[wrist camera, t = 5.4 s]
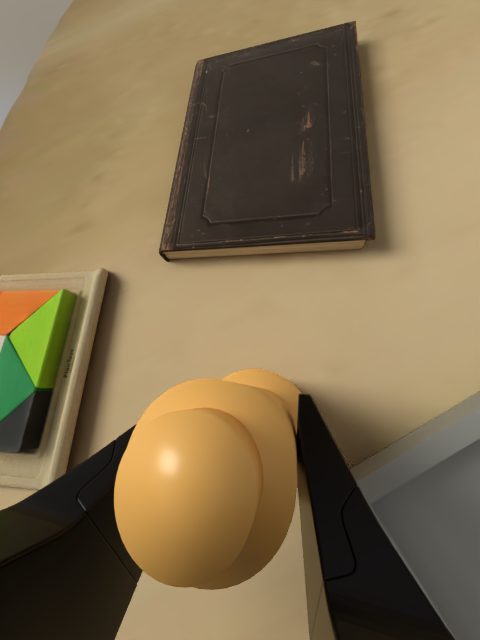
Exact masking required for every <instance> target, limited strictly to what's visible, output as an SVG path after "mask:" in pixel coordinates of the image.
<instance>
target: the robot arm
mask: <svg viewBox="0 0 480 640" xmlns="http://www.w3.org/2000/svg"><path fill="white" fill-rule="evenodd" d="M136 425H137V424H136ZM136 425H134V426H133V427H132V428H130V429H129V430H127V431H126V432H125V433H123V434H122V435H121V436H119V437H118V438H117V439H116V440H114V441H112V442H111V443H110V444H108V445H107V446H106V447H104V448H103V449H101V450H100V451H98V452H97V453H96V454H94V455H93V456H91V457H90V458H88V459H87V460H85V461H84V462H82V463H81V464H79V465H78V466H76V467H75V468H73V469H72V470H70V471H69V472H67V473H65V474H64V475H62V476H61V477H59V478H58V479H56V480H54V481H53V482H51V483H50V484H48V485H47V486H45V487H43V488H42V489H40V490H39V491H37V492H36V493H34V494H32V495H31V496H29V497H28V498H26V499H24V500H22V501H21V502H19V503H17V504H15V505H13V506H10V507H8V508H6V509H3V510H0V640H115V637H116V635H117V632H118V630H119V627H120V625H121V623H122V620H123V618H124V615H125V613H126V610H127V608H128V605H129V603H130V601H131V598H132V596H133V593H134V591H135V588H136V586H137V582H138V581H139V578H140V576H141V573H142V571H143V570H142V569H141V568H140V567H139V566H138V565H137V564H136V563H135V561H134V560H133V559H132V557H131V556H130V554H129V553H128V551H127V549H126V547H125V545H124V543H123V541H122V539H121V536H120V533H119V530H118V526H117V522H116V517H115V510H114V488H115V481H116V475H117V471H118V468H119V464H120V462H121V459H122V457H123V454H124V452H125V450H126V448H127V446H128V443H129V440H130V438H131V435H132V433H133V431H134V429H135V427H136ZM297 480H298V493H299V506H300V519H301V532H302V545H303V558H304V571H305V584H306V597H307V610H308V623H309V636H310V640H456V639H455V638H454V637H453V635H452V634H451V633H450V631H449V630H448V628H447V627H446V626H445V624H444V623H443V621H442V620H441V618H440V617H439V615H438V614H437V612H436V611H435V609H434V608H433V606H432V604H431V603H430V601H429V600H428V598H427V597H426V595H425V594H424V592H423V591H422V589H421V588H420V586H419V584H418V583H417V581H416V580H415V578H414V577H413V575H412V574H411V572H410V571H409V569H408V568H407V566H406V565H405V563H404V561H403V560H402V558H401V557H400V555H399V554H398V552H397V551H396V549H395V548H394V546H393V544H392V543H391V541H390V540H389V538H388V536H387V535H386V533H385V532H384V530H383V528H382V527H381V525H380V524H379V522H378V520H377V518H376V517H375V515H374V513H373V511H372V510H371V508H370V506H369V504H368V502H367V501H366V499H365V497H364V495H363V493H362V491H361V489H360V487H359V486H357V482H356V480H355V478H354V476H353V474H352V473H351V471H350V469H349V467H348V465H347V463H346V461H345V459H344V457H343V455H342V454H341V452H340V450H339V448H338V446H337V444H336V442H335V440H334V438H333V437H332V435H331V433H330V431H329V429H328V427H327V425H326V423H325V421H324V420H323V418H322V416H321V414H320V412H319V410H318V408H317V406H316V404H315V402H314V401H313V399H312V397H311V395H309V394H302V393H300V394H299V395H298V415H297Z"/></svg>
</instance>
